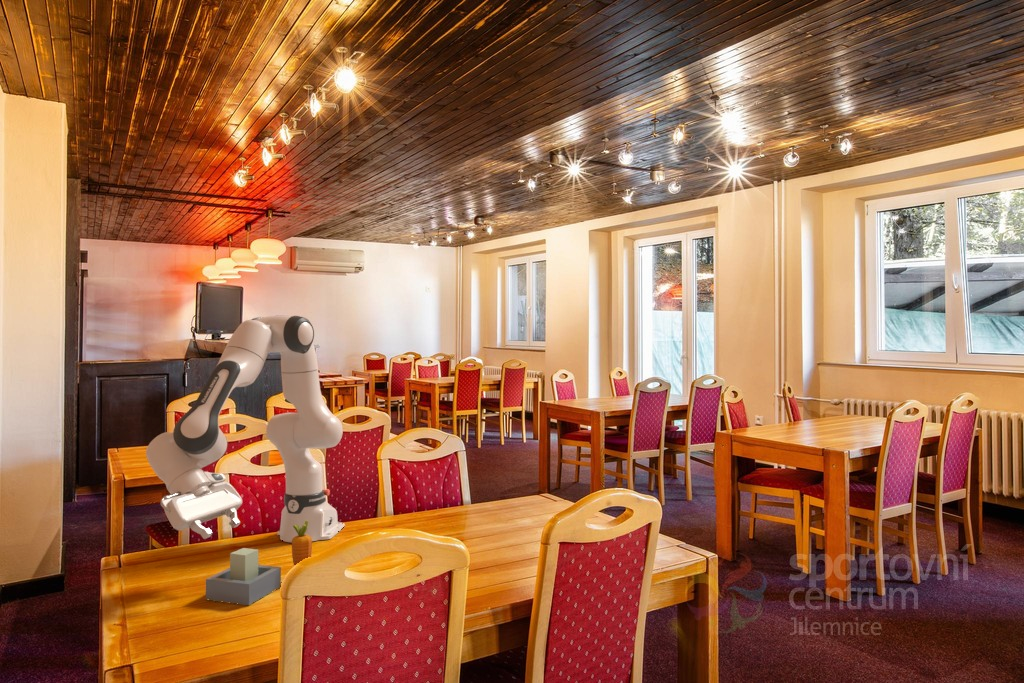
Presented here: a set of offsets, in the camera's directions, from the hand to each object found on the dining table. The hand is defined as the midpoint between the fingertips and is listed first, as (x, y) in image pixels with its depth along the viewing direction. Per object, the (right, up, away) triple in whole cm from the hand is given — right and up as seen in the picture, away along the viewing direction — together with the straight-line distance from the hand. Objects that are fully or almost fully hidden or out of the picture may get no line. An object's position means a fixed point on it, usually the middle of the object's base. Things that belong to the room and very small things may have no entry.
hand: (223, 531), depth 159 cm
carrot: (+17, -15, +7) cm, 24 cm away
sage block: (+6, -13, -2) cm, 15 cm away
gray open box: (+6, -15, -2) cm, 16 cm away
